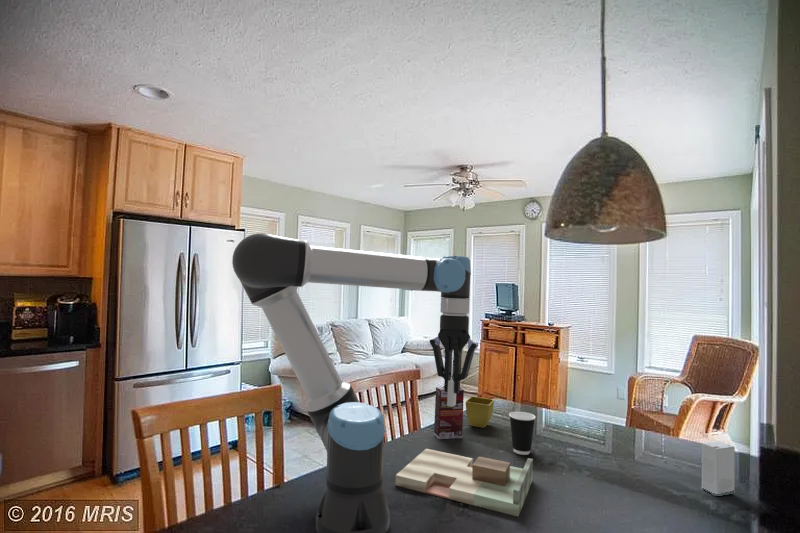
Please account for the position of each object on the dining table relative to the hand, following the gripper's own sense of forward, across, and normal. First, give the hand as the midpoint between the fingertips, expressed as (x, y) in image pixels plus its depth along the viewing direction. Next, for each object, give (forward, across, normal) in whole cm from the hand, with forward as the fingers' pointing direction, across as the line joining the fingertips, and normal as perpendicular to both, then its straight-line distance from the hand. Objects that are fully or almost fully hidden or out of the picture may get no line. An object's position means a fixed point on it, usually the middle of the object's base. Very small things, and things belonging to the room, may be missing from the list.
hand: (451, 405), depth 112 cm
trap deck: (+19, -4, 0) cm, 19 cm away
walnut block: (+16, -11, 0) cm, 20 cm away
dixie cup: (+19, -13, -29) cm, 37 cm away
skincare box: (+19, -62, -27) cm, 70 cm away
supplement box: (+19, +11, -30) cm, 37 cm away
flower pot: (+19, +5, -47) cm, 51 cm away
